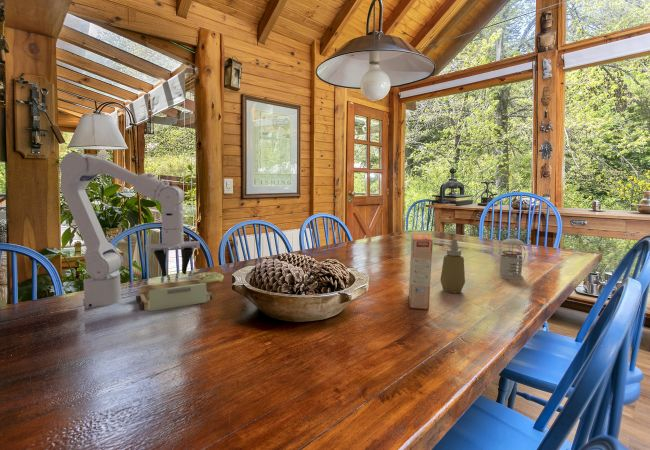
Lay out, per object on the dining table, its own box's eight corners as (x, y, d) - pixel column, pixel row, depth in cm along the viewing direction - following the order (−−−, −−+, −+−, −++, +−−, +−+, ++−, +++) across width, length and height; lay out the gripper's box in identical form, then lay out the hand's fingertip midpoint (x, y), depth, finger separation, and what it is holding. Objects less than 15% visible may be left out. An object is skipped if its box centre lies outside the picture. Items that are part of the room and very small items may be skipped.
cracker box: (430, 310, 112) (433, 239, 110) (409, 309, 113) (411, 238, 111) (427, 296, 126) (430, 232, 123) (408, 295, 127) (410, 232, 125)
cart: (140, 316, 105) (140, 296, 104) (135, 304, 114) (134, 286, 114) (213, 304, 115) (212, 286, 114) (202, 294, 125) (202, 278, 124)
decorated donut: (196, 290, 130) (196, 279, 130) (190, 282, 140) (190, 272, 139) (227, 286, 135) (226, 275, 135) (219, 279, 145) (219, 269, 144)
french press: (491, 274, 156) (495, 213, 153) (511, 272, 161) (515, 212, 158) (512, 280, 147) (516, 215, 144) (532, 277, 152) (537, 214, 149)
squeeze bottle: (461, 288, 136) (464, 237, 134) (467, 295, 128) (470, 241, 126) (437, 287, 137) (440, 237, 134) (442, 294, 129) (444, 240, 126)
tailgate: (150, 311, 104) (149, 291, 103) (149, 310, 105) (148, 290, 105) (207, 302, 112) (206, 284, 111) (206, 301, 113) (205, 283, 113)
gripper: (147, 231, 104) (149, 280, 105) (202, 228, 111) (203, 274, 113) (143, 228, 110) (145, 275, 111) (195, 225, 117) (197, 269, 119)
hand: (174, 274), depth 112 cm, fingers open, 5 cm apart
